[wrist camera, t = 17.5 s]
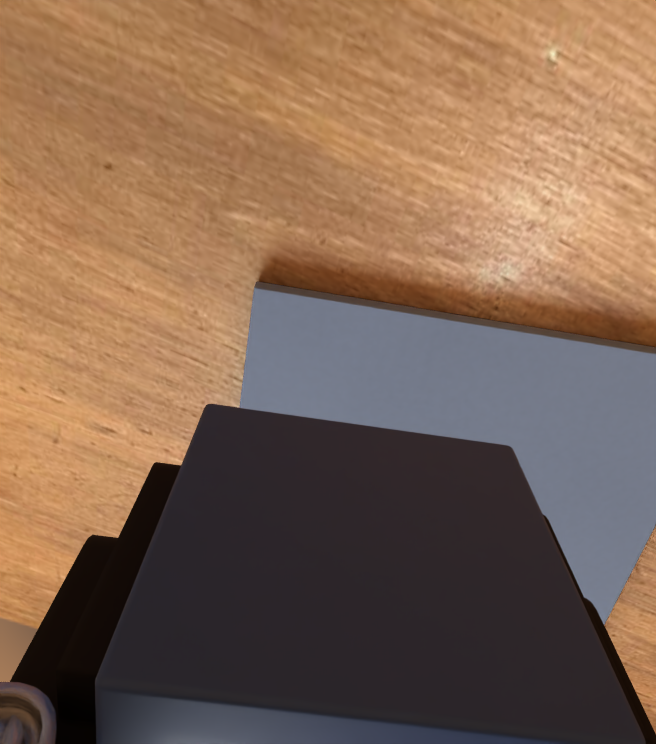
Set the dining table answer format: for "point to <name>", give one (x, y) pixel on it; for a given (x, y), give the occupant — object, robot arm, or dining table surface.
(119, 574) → the robot arm
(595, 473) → the blue mat
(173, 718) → the blue block
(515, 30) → the dining table surface
